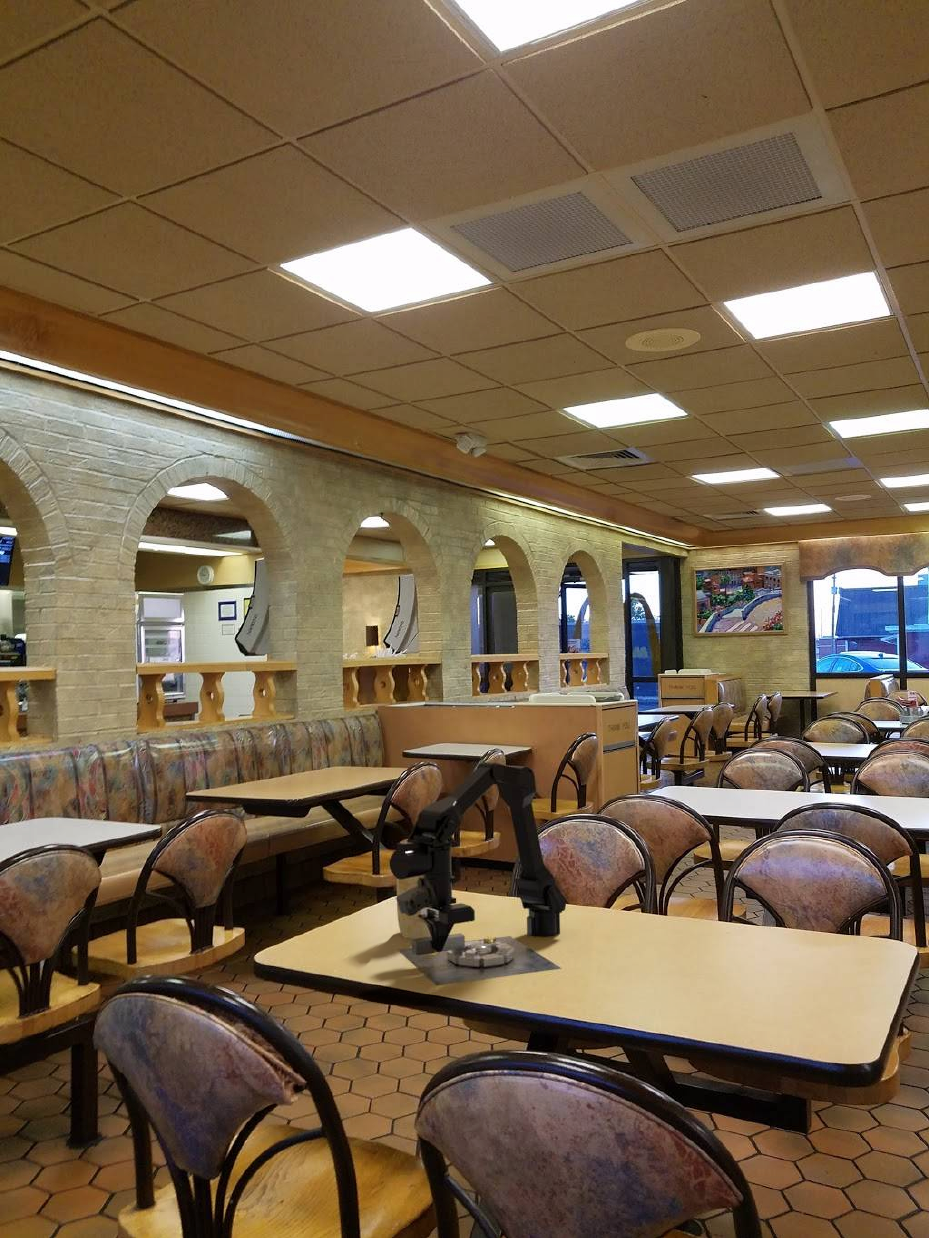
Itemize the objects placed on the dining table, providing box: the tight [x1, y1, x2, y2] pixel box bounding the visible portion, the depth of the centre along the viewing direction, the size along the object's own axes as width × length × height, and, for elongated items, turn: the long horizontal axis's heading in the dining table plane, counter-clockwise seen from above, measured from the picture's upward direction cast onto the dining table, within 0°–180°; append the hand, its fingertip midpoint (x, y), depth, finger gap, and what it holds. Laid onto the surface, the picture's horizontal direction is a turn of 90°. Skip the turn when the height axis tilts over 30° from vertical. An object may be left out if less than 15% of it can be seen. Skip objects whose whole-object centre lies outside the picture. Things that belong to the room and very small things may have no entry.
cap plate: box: [397, 935, 562, 986], centre depth 200 cm, size 26×26×3 cm
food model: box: [396, 875, 431, 939], centre depth 220 cm, size 10×7×20 cm
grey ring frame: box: [411, 932, 515, 967], centre depth 199 cm, size 21×13×5 cm, turn 113°
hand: (438, 951), depth 194 cm, fingers closed
